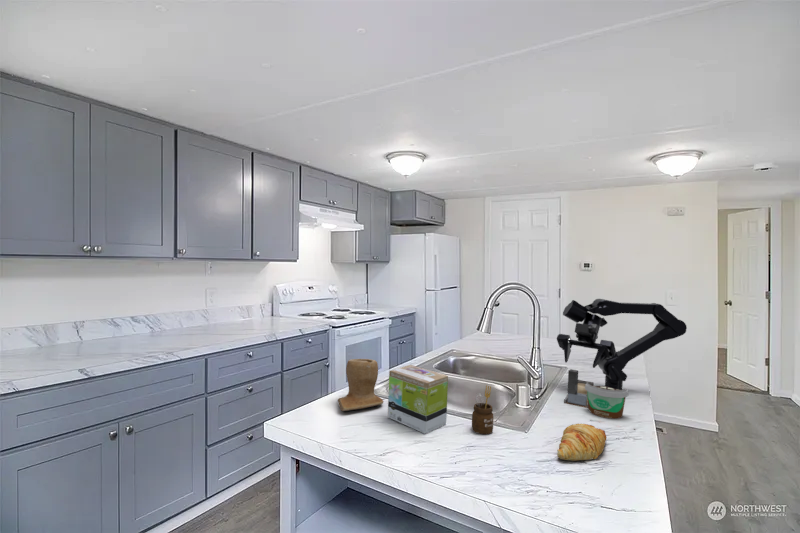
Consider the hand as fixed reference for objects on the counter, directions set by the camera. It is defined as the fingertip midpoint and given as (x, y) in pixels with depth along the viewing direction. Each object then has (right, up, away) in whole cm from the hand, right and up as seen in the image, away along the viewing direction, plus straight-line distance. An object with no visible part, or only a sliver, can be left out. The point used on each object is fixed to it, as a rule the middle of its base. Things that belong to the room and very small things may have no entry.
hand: (579, 364), depth 140 cm
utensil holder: (-39, -13, -26) cm, 48 cm away
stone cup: (-75, -11, -10) cm, 77 cm away
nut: (+2, -12, +2) cm, 12 cm away
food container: (+1, -14, -15) cm, 20 cm away
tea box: (-57, -12, -21) cm, 62 cm away
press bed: (0, -13, -1) cm, 13 cm away
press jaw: (-3, -11, -6) cm, 13 cm away
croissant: (-15, -14, -36) cm, 41 cm away
